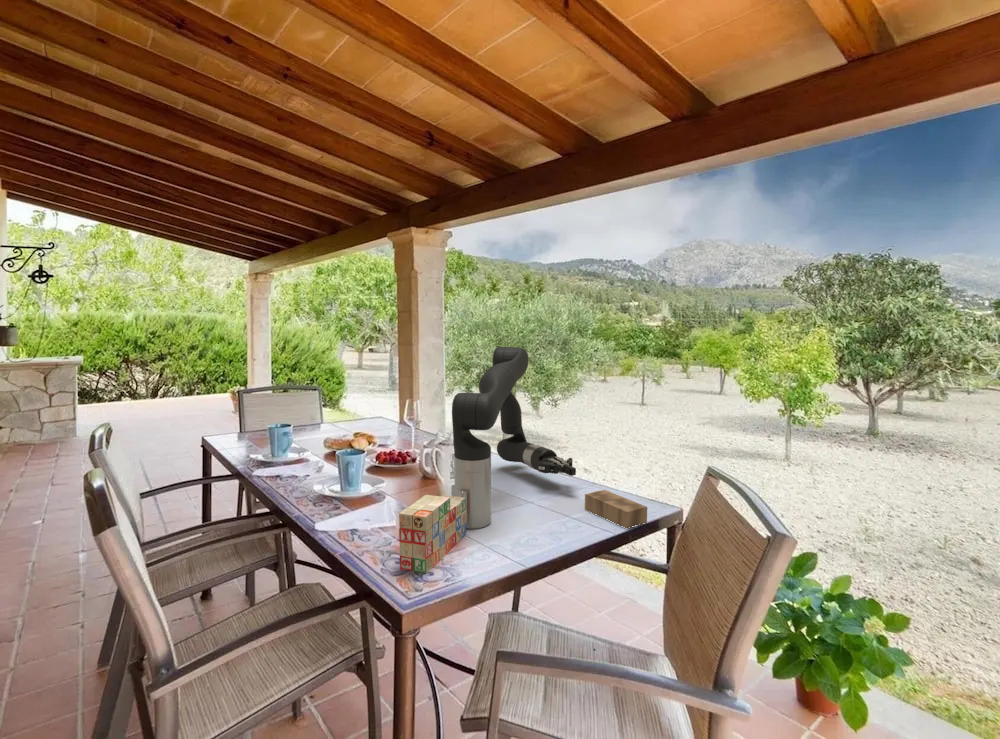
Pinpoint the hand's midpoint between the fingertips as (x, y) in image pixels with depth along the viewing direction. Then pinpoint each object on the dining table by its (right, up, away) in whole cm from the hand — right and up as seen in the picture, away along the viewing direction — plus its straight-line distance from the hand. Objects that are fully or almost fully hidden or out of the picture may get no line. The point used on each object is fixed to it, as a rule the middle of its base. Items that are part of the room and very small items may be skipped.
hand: (573, 472), depth 156 cm
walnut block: (+5, -6, -7) cm, 11 cm away
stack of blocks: (-36, -11, -35) cm, 51 cm away
